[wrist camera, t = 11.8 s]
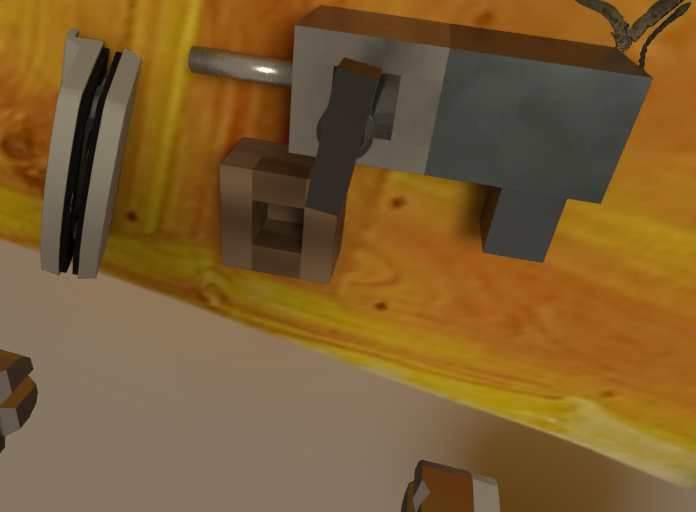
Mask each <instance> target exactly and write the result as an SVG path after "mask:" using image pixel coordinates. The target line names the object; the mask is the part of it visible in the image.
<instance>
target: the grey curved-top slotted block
mask: <svg viewBox="0 0 696 512" xmlns="http://www.w3.org/2000/svg"><path fill="white" fill-rule="evenodd" d="M78 34H79V30H78V29H74V28H71V29H70V31H69V32H68V34H67V35H66V40H65V50H64V60H63V70H62V81H61V89H60V93H59V96H58V101H57V106H56V112H55V119H54V125H53V131H52V137H51V144H50V151H49V158H48V166H47V174H46V182H45V190H44V199H43V212H42V224H41V269H42V270H45V271H48V272H51V273H54V274H57V275H60V273H61V272H64V273H66V272H67V270H68V268H69V265H70V262H71V260H72V257H73V274H76V275H78V278H79V279H81V278H96V276H97V273H98V270H99V267H100V263H101V260H102V257H103V254H104V250H105V247H106V244H107V240H108V237H109V232H110V227H111V221H112V216H113V211H114V205H115V200H116V194H117V189H118V183H119V178H120V172H121V167H122V162H123V156H124V151H125V145H126V140H127V134H128V129H129V123H130V118H131V113H132V107H133V102H134V96H135V91H136V85H137V80H138V74H139V69H140V63H141V57H139V56H138V55H136V54H135V53H133V52H131V51H129V50H128V49H126V48H124V50H123V53H120V52H116V54H115V57H114V59H113V62H112V65H111V67H110V70H109V73H108V75H107V78H106V79H105V78H104V75H105V73H106V67H107V61H108V54H109V49H107V48H104V47H103V43H104V41H99V40H93V39H87V38H80V37H78ZM91 130H92V132H91V138H90V143H89V149H88V155H87V160H86V152H87V144H88V137H89V132H90V131H91ZM85 160H86V163H85ZM73 255H74V256H73Z"/></svg>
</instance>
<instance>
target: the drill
mask: <svg viewBox="0 0 696 512" xmlns="http://www.w3.org/2000/svg"><path fill="white" fill-rule="evenodd" d="M344 57H346V58H349V59H352V60H356V61H359V62H362V63H365V64H369V65H372V66H375V67H378V68H382V72H381V73H382V74H383V76H384V81H385V83H384V88H383V91H382V93H381V96H380V99H379V102H378V104H377V107H376V110H375V113H374V115H373V117H374V120H375V124H376V131H375V136H374V139H373V142H372V145H371V147H370V149H369V150H368V152H367V153H366V154H365V155H363V156H362V157H360V158H359V159H357V160H356V164H362V165H368V166H374V167H380V168H386V169H392V170H398V171H404V172H410V173H416V174H422V175H429V176H435V177H441V178H447V179H453V180H459V181H465V182H471V183H477V184H483V185H489V189H488V193H487V196H486V200H485V204H484V207H483V211H482V214H481V218H480V230H481V239H482V249H483V253H489V254H495V255H500V256H506V257H512V258H518V259H523V260H529V261H535V262H541V263H543V261H544V259H545V256H546V253H547V251H548V248H549V245H550V243H551V240H552V237H553V235H554V232H555V229H556V227H557V224H558V222H559V219H560V216H561V214H562V211H563V208H564V206H565V203H566V200H567V198H568V199H574V200H580V201H586V202H592V203H598V204H601V202H602V199H603V197H604V195H605V192H606V190H607V187H608V185H609V183H610V180H611V178H612V175H613V173H614V171H615V168H616V166H617V164H618V161H619V159H620V156H621V154H622V152H623V149H624V147H625V144H626V142H627V140H628V137H629V135H630V132H631V130H632V128H633V125H634V123H635V121H636V118H637V116H638V113H639V111H640V109H641V106H642V104H643V101H644V99H645V97H646V94H647V92H648V90H649V87H650V85H651V82H652V80H653V77H651V76H650V75H649V74H648V73H646V72H645V71H644V70H643V69H642V68H640V67H639V66H638V65H637V64H635V63H634V62H633V61H632V60H631V59H629V58H628V57H627V56H626V55H624V54H623V53H622V52H621V51H620V50H618V49H617V48H615V47H608V46H601V45H594V44H587V43H580V42H573V41H567V40H560V39H553V38H546V37H539V36H532V35H525V34H518V33H511V32H504V31H497V30H490V29H483V28H476V27H470V26H463V25H456V24H449V23H442V22H435V21H428V20H421V19H414V18H407V17H400V16H393V15H386V14H380V13H373V12H366V11H359V10H352V9H345V8H338V7H331V6H324V5H321V6H320V7H318V8H317V9H316V10H314V11H313V12H312V13H310V14H309V15H308V16H306V17H305V18H304V19H302V20H301V21H300V22H298V23H297V24H296V25H295V30H294V51H293V60H287V59H280V58H274V57H267V56H260V55H254V54H247V53H241V52H234V51H228V50H221V49H214V48H208V47H201V46H195V45H194V46H192V48H191V50H190V53H189V67H190V70H191V72H192V73H197V74H203V75H209V76H216V77H222V78H229V79H235V80H241V81H248V82H254V83H261V84H267V85H273V86H280V87H286V88H292V92H291V112H290V133H289V153H295V154H301V155H307V156H313V157H316V155H317V150H318V146H319V142H318V139H317V134H316V129H317V124H318V121H319V119H320V118H321V116H322V114H323V113H324V111H325V110H326V108H327V107H328V103H329V99H330V95H331V90H332V86H333V82H334V78H335V73H336V69H337V66H338V65H339V64H340V62H341V61H342V59H343V58H344Z"/></svg>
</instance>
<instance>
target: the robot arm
mask: <svg viewBox="0 0 696 512" xmlns="http://www.w3.org/2000/svg"><path fill="white" fill-rule="evenodd" d="M32 370H33V366H32V362H31V358H29V357H26V356H22V355H19V354H15V353H11V352H8V351H4V350H1V349H0V453H1V451H2V450H3V449H4V448H5V436H6V435H8V434H10V433H13V432H14V431H17V430H19V429H20V428H21V427H22V426H23V425H24V423H25V422H26V421H27V420H28V418H29V417H30V415H31V413H32V411H33V409H34V407H35V404H36V401H37V394H38V391H37V386H36V383H35V382H34V381H33V380H32V379H31V378H30V377H29V376H28V374H30V372H31V371H32ZM401 512H500V508H499V497H498V485H497V483H496V481H495V479H493V478H490V477H486V476H482V475H478V474H474V473H470V472H468V471H466V470H461V469H457V468H453V467H449V466H445V465H441V464H437V463H433V462H429V461H425V460H420V461H419V462H418V464H417V466H416V469H415V476H414V481H412V482H410V483H409V484H408V487H407V489H406V492H405V495H404V499H403V503H402V508H401Z"/></svg>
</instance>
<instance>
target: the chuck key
mask: <svg viewBox="0 0 696 512" xmlns="http://www.w3.org/2000/svg"><path fill="white" fill-rule="evenodd" d="M381 72H382V68H378V67H375V66H372V65H369V64H365V63H362V62H359V61H356V60H352V59H349V58H346V57H344V58H343V59H342V61H341V62H340V64H339V65H338V66H337V69H336V73H335V78H334V82H333V86H332V90H331V95H330V99H329V103H328V107H327V108H326V110H325V111H324V113H323V114H322V116H321V118H320V119H319V121H318V124H317V129H316V134H317V139H318V142H319V146H318V150H317V155H316V159H315V163H314V168H313V172H312V176H311V180H310V185H309V189H308V193H307V198H306V202H305V206H304V207H307V208H310V209H314V210H317V211H320V212H323V213H327V214H330V215H333V216H337V217H339V216H340V214H341V211H342V208H343V205H344V202H345V199H346V196H347V192H348V189H349V185H350V182H351V178H352V175H353V171H354V167H355V164H356V160H357V159H359V158H360V157H362V156H363V155H365V154H366V153H367V152H368V150H369V149H370V147H371V145H372V142H373V139H374V136H375V131H376V124H375V120H374V117H373V115H374V113H375V110H376V107H377V104H378V102H379V99H380V96H381V93H382V91H383V88H384V83H385V81H384V76H383V74H382V73H381Z"/></svg>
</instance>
